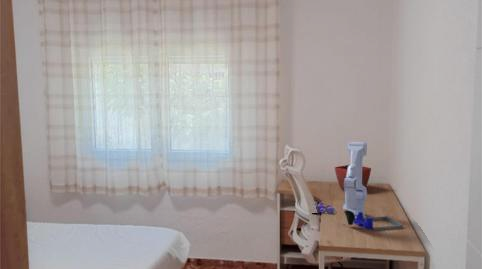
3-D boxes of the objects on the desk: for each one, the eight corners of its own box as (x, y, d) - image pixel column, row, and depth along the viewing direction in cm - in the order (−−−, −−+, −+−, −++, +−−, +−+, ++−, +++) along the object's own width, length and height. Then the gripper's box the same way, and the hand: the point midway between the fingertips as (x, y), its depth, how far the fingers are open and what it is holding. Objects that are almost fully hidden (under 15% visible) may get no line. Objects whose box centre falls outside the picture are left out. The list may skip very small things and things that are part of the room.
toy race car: (336, 215, 242) (336, 204, 241) (310, 214, 244) (310, 203, 243) (334, 210, 251) (334, 200, 251) (310, 210, 253) (309, 199, 253)
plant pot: (352, 194, 290) (352, 170, 288) (334, 189, 306) (334, 167, 305) (371, 190, 299) (371, 167, 298) (352, 185, 316) (352, 164, 314)
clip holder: (359, 220, 228) (359, 217, 228) (386, 218, 231) (386, 215, 231) (374, 230, 212) (374, 226, 212) (402, 228, 215) (402, 224, 215)
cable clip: (353, 223, 225) (353, 212, 225) (361, 222, 226) (361, 212, 226) (365, 230, 214) (365, 219, 213) (372, 229, 215) (372, 218, 214)
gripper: (338, 196, 224) (338, 220, 225) (349, 203, 210) (349, 229, 211) (350, 195, 225) (350, 219, 226) (362, 202, 211) (362, 228, 212)
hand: (350, 224), depth 219 cm, fingers closed
